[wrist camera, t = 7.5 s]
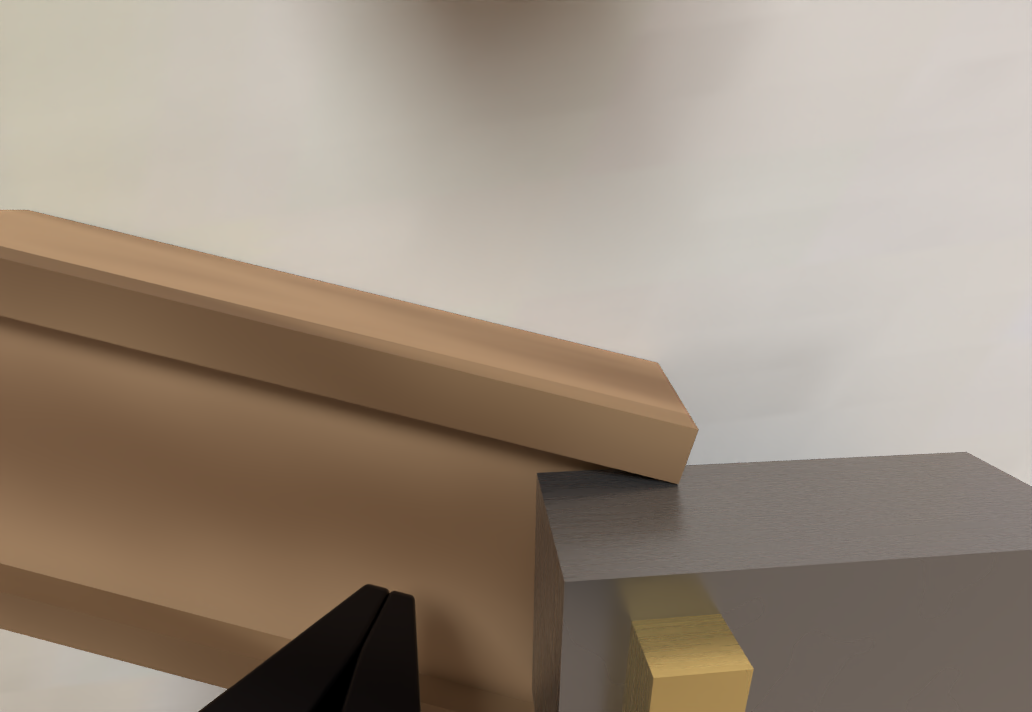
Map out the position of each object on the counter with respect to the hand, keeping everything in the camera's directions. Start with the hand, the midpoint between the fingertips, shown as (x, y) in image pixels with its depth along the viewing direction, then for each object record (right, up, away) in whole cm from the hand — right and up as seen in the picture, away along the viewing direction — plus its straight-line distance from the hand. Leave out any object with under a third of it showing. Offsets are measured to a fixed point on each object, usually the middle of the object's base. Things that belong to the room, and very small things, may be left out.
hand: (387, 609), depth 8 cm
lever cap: (+6, 0, +1) cm, 7 cm away
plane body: (-3, +2, +4) cm, 6 cm away
